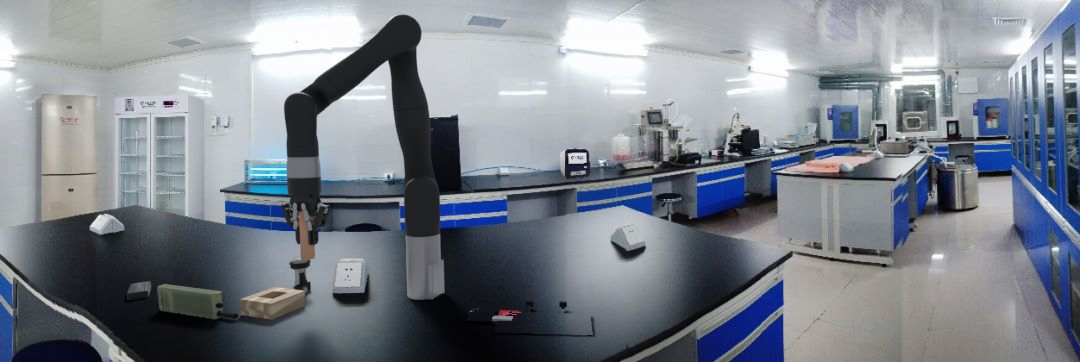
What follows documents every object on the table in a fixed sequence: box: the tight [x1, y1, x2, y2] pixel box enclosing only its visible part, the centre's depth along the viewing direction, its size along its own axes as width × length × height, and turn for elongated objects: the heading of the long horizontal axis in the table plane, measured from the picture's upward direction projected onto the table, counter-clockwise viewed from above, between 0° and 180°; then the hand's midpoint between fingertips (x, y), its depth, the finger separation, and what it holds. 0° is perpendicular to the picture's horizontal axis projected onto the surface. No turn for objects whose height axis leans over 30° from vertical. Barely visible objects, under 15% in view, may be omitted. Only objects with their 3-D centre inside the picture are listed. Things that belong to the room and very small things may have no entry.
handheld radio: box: [156, 283, 239, 320], centre depth 114 cm, size 7×3×25 cm
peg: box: [299, 211, 316, 260], centre depth 115 cm, size 3×3×12 cm
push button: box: [288, 256, 312, 294], centre depth 129 cm, size 7×5×10 cm
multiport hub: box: [126, 280, 152, 301], centre depth 130 cm, size 4×11×2 cm, turn 37°
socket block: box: [239, 286, 306, 320], centre depth 117 cm, size 10×10×4 cm
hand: (307, 243), depth 115 cm, fingers closed on peg, 3 cm apart
